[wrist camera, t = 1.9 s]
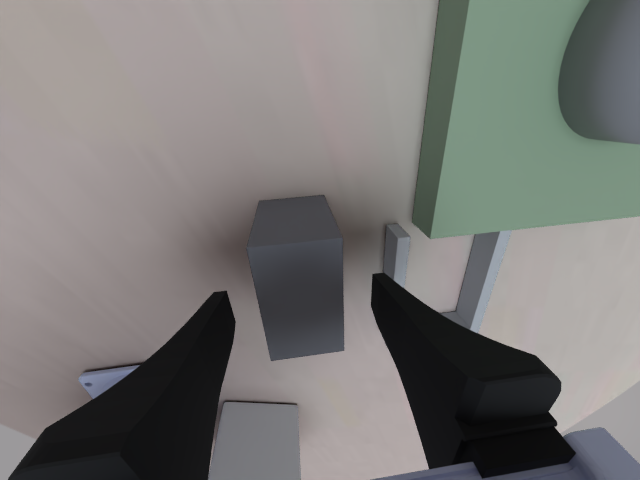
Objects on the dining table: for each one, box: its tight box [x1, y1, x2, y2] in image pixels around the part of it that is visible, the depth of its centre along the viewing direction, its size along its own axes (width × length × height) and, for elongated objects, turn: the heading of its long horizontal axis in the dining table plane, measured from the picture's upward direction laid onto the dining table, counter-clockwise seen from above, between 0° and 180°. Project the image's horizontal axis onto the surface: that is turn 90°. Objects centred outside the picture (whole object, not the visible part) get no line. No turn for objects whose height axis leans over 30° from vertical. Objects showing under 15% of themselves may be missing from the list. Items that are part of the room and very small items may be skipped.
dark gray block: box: [246, 195, 344, 361], centre depth 15 cm, size 7×4×6 cm, turn 3°
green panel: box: [382, 0, 640, 348], centre depth 15 cm, size 24×18×6 cm
